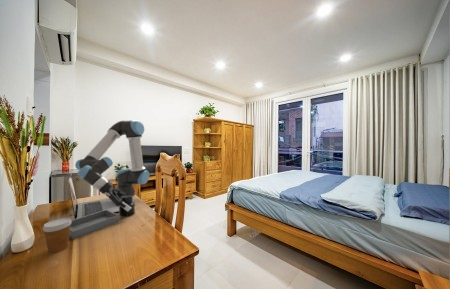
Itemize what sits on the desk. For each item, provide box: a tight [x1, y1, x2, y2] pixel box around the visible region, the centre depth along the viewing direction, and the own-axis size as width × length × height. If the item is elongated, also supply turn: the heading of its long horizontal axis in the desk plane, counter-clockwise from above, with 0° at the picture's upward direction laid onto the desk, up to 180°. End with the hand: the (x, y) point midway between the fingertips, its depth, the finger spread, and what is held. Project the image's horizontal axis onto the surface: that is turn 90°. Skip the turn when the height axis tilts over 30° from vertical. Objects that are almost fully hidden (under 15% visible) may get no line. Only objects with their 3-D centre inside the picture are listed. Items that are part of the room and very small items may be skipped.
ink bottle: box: [118, 194, 136, 218], centre depth 114 cm, size 10×9×12 cm
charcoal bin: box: [69, 209, 121, 240], centre depth 99 cm, size 22×16×4 cm
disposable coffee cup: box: [42, 217, 72, 254], centre depth 78 cm, size 10×10×12 cm
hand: (131, 206), depth 115 cm, fingers open, 12 cm apart
